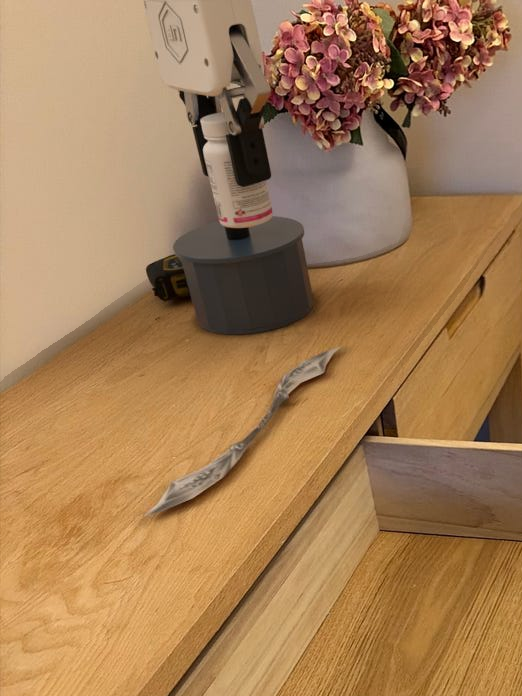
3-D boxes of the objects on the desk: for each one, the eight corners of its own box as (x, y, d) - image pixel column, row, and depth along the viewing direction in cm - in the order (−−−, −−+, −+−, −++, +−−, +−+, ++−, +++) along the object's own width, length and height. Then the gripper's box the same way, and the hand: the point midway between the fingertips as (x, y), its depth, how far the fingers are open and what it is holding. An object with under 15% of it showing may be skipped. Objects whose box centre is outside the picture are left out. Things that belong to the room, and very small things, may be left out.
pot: (177, 316, 108) (157, 246, 104) (273, 282, 114) (258, 215, 110) (236, 344, 101) (217, 271, 96) (335, 306, 107) (323, 235, 102)
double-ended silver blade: (139, 519, 75) (196, 524, 74) (136, 512, 75) (194, 517, 73) (302, 347, 98) (348, 348, 97) (301, 341, 98) (346, 342, 97)
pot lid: (152, 253, 104) (139, 207, 101) (261, 218, 110) (252, 175, 108) (217, 279, 96) (205, 231, 93) (331, 241, 102) (323, 194, 99)
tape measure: (151, 290, 115) (141, 258, 113) (208, 278, 117) (200, 246, 115) (158, 309, 110) (148, 276, 108) (218, 296, 112) (210, 263, 110)
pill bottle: (283, 213, 88) (262, 109, 83) (257, 230, 85) (234, 122, 80) (237, 211, 90) (214, 109, 85) (210, 228, 87) (184, 123, 81)
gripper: (86, -75, 77) (153, 174, 89) (191, -77, 67) (252, 205, 78) (171, -86, 81) (225, 154, 92) (284, -90, 70) (328, 182, 82)
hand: (237, 175), depth 85 cm, fingers closed on pill bottle, 4 cm apart
